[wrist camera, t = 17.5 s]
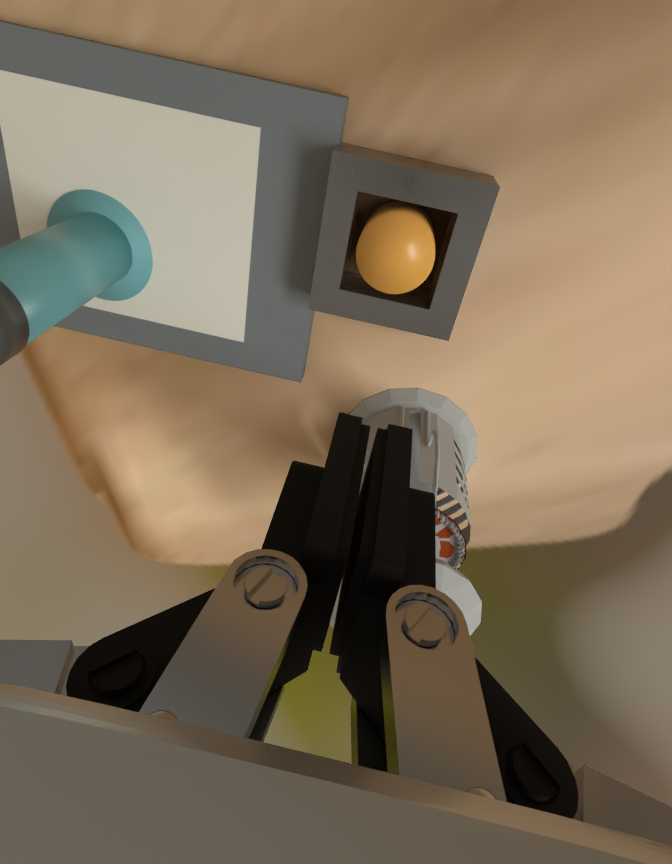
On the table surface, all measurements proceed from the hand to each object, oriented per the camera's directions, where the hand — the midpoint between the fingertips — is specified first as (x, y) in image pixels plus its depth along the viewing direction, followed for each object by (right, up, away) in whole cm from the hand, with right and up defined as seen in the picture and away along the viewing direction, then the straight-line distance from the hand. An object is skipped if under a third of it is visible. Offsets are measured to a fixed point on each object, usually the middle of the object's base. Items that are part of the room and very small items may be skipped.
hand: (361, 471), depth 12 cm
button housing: (+3, +12, +17) cm, 21 cm away
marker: (-15, +12, +19) cm, 27 cm away
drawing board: (-11, +13, +19) cm, 25 cm away
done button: (+3, +12, +17) cm, 21 cm away
